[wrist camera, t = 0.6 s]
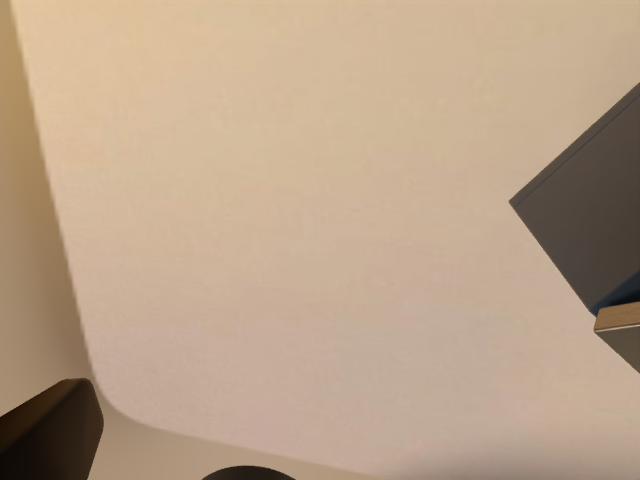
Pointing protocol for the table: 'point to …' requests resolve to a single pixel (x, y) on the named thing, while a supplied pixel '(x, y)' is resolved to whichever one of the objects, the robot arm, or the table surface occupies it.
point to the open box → (592, 208)
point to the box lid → (621, 330)
